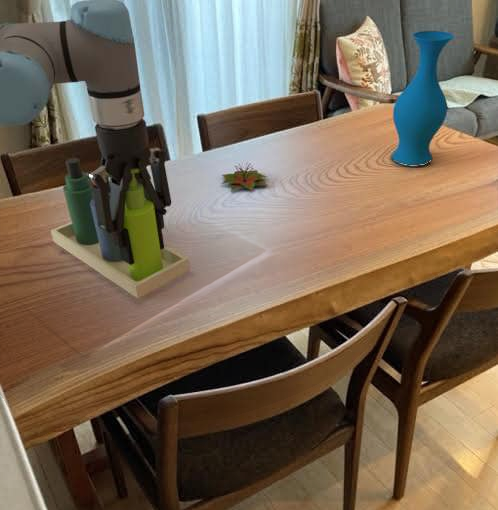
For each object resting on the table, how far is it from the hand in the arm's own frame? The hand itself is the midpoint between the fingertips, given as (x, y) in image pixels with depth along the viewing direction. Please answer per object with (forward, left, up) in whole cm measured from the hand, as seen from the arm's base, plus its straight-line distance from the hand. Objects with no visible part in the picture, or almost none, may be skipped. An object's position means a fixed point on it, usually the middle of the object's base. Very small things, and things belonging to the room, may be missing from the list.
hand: (143, 253), depth 95 cm
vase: (+8, +76, -5) cm, 77 cm away
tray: (-9, 0, -5) cm, 10 cm away
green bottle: (-18, 0, -4) cm, 18 cm away
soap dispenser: (0, -1, -4) cm, 4 cm away
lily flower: (-14, +39, -5) cm, 42 cm away
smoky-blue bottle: (-9, 0, -4) cm, 10 cm away
